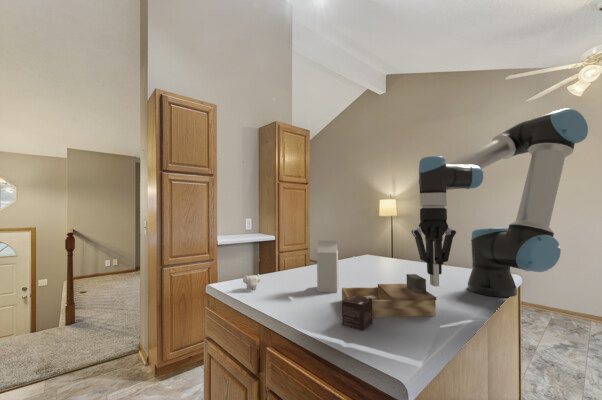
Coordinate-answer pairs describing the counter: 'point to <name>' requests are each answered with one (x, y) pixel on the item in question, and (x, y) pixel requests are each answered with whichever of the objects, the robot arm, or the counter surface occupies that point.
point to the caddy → (392, 303)
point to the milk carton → (327, 266)
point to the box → (357, 312)
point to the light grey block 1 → (372, 297)
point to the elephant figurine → (251, 281)
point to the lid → (408, 290)
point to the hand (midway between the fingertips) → (434, 285)
